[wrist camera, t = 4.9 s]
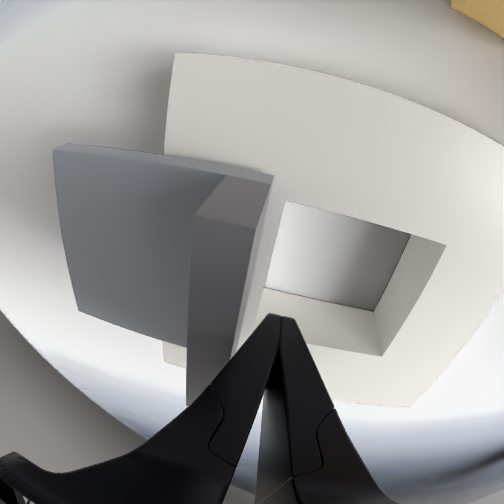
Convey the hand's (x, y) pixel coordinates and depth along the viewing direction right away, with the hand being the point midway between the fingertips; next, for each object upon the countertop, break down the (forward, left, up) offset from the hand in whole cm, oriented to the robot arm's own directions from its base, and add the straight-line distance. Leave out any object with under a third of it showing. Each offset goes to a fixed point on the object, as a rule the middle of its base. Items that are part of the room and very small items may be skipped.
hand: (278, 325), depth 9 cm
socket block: (-2, 0, -5) cm, 6 cm away
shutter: (+5, 0, -2) cm, 5 cm away
